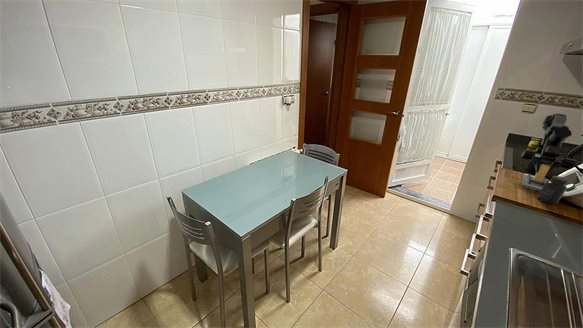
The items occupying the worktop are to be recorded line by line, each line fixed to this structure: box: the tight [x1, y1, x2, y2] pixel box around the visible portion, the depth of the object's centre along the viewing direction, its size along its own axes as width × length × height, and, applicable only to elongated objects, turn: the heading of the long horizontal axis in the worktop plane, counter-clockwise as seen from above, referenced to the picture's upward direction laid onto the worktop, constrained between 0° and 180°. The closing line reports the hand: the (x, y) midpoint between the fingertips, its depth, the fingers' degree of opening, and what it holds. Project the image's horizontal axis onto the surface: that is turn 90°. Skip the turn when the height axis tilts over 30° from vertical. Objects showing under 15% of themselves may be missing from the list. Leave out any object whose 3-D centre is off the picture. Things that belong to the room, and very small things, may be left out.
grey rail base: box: [521, 173, 550, 192], centre depth 121 cm, size 16×10×3 cm, turn 138°
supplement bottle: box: [537, 175, 569, 205], centre depth 106 cm, size 7×7×12 cm
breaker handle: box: [531, 164, 551, 185], centre depth 119 cm, size 4×4×9 cm
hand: (541, 173), depth 117 cm, fingers open, 3 cm apart
